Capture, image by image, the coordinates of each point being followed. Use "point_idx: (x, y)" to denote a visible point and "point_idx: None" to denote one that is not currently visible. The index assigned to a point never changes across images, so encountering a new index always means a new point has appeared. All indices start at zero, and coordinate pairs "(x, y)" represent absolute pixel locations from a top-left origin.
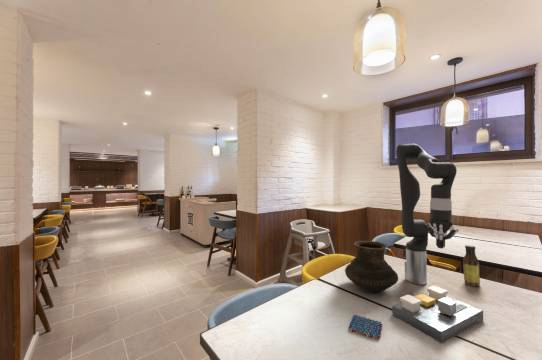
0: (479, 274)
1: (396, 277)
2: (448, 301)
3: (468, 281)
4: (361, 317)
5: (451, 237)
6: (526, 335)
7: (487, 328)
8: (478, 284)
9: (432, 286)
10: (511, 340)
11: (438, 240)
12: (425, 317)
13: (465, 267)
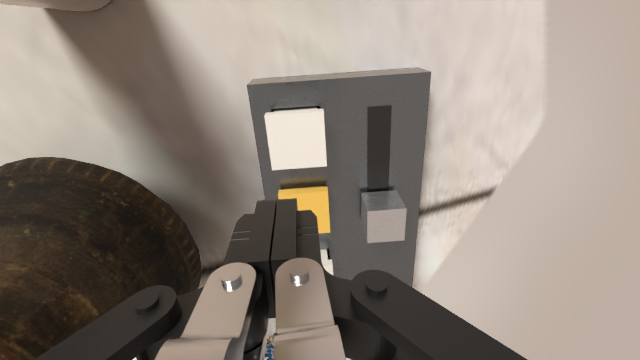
0: None
1: (171, 230)
2: (389, 223)
3: None
4: (272, 345)
5: (420, 293)
6: (520, 32)
7: (439, 105)
8: None
9: (269, 133)
10: (495, 109)
11: (271, 309)
12: (360, 271)
13: None
